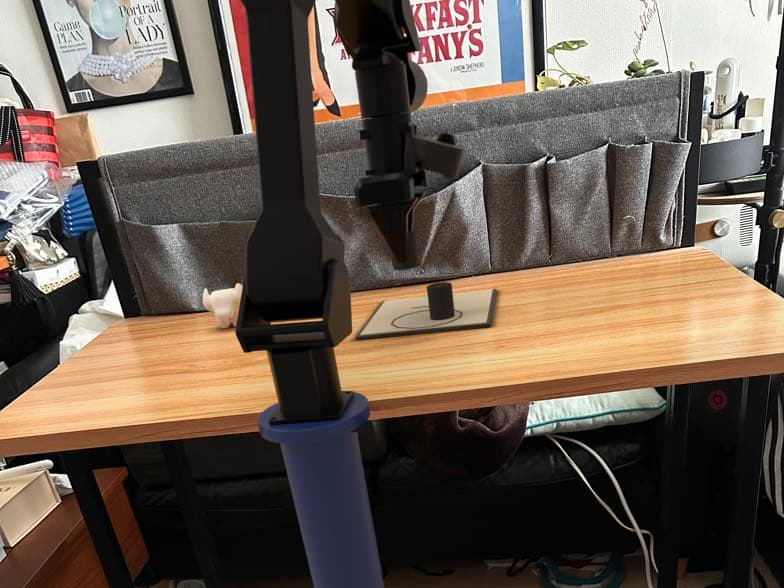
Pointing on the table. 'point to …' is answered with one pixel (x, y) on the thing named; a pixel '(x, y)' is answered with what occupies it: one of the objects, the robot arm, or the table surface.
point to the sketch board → (416, 319)
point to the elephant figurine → (224, 304)
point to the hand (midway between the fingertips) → (404, 259)
